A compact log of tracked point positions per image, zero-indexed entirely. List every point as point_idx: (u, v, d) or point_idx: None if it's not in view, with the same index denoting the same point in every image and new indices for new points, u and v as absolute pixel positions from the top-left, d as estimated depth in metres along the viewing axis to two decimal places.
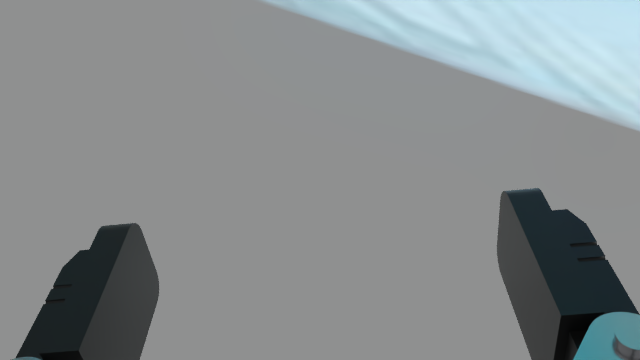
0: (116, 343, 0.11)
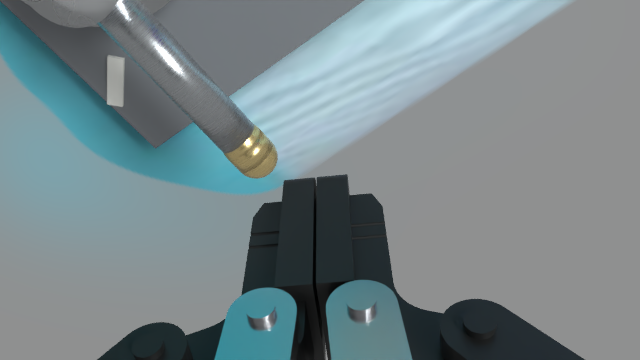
0: None
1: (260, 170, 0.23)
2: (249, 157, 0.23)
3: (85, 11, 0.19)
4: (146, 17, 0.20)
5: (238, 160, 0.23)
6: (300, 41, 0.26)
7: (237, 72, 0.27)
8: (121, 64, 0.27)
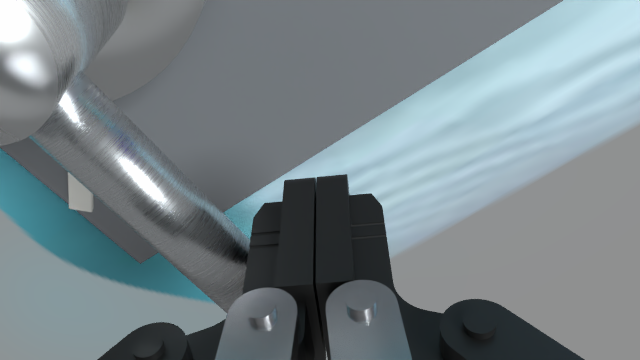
0: None
1: None
2: None
3: None
4: (113, 123, 0.12)
5: None
6: (354, 124, 0.18)
7: (259, 167, 0.18)
8: None
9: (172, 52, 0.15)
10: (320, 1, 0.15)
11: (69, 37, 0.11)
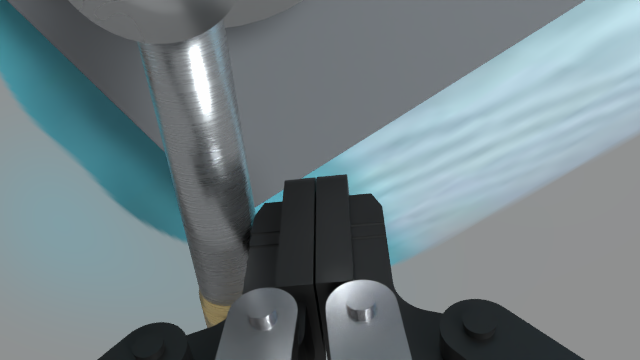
0: None
1: None
2: None
3: (140, 14, 0.10)
4: (225, 68, 0.11)
5: (220, 319, 0.14)
6: (477, 62, 0.17)
7: (371, 110, 0.17)
8: None
9: (257, 15, 0.14)
10: None
11: None
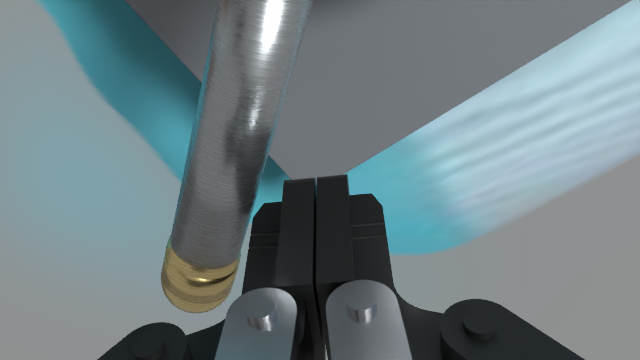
0: None
1: (195, 308, 0.14)
2: (203, 287, 0.13)
3: None
4: (302, 31, 0.10)
5: (185, 278, 0.13)
6: (573, 29, 0.16)
7: (458, 81, 0.17)
8: None
9: None
10: None
11: None
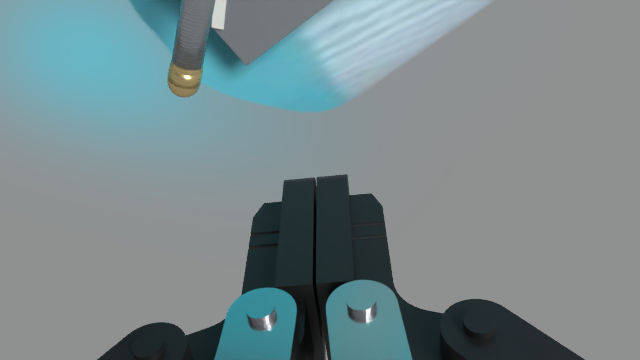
0: None
1: (182, 92, 0.31)
2: (185, 80, 0.31)
3: None
4: None
5: (177, 75, 0.31)
6: None
7: None
8: None
9: None
10: None
11: None
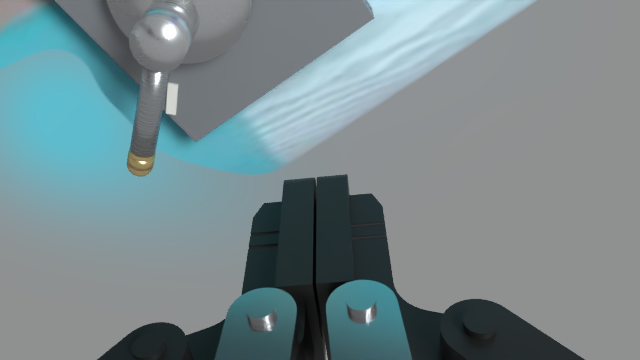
0: None
1: (138, 173, 0.39)
2: (140, 164, 0.39)
3: (149, 61, 0.34)
4: (166, 81, 0.36)
5: (134, 161, 0.39)
6: (289, 74, 0.41)
7: (249, 93, 0.42)
8: (176, 88, 0.42)
9: (182, 61, 0.39)
10: (272, 23, 0.39)
11: None
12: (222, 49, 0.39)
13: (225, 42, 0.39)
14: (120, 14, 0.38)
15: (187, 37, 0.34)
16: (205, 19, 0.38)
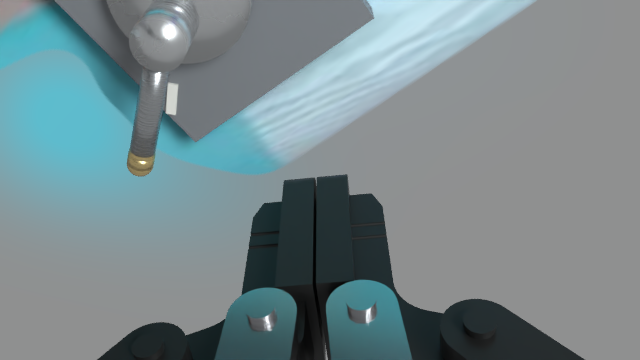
0: None
1: (138, 173, 0.39)
2: (140, 164, 0.39)
3: (149, 61, 0.34)
4: (166, 81, 0.36)
5: (134, 161, 0.39)
6: (289, 74, 0.41)
7: (249, 93, 0.42)
8: (176, 88, 0.42)
9: (182, 61, 0.39)
10: (272, 23, 0.39)
11: None
12: (222, 49, 0.39)
13: (225, 43, 0.39)
14: (120, 14, 0.38)
15: (187, 37, 0.34)
16: (205, 19, 0.38)
